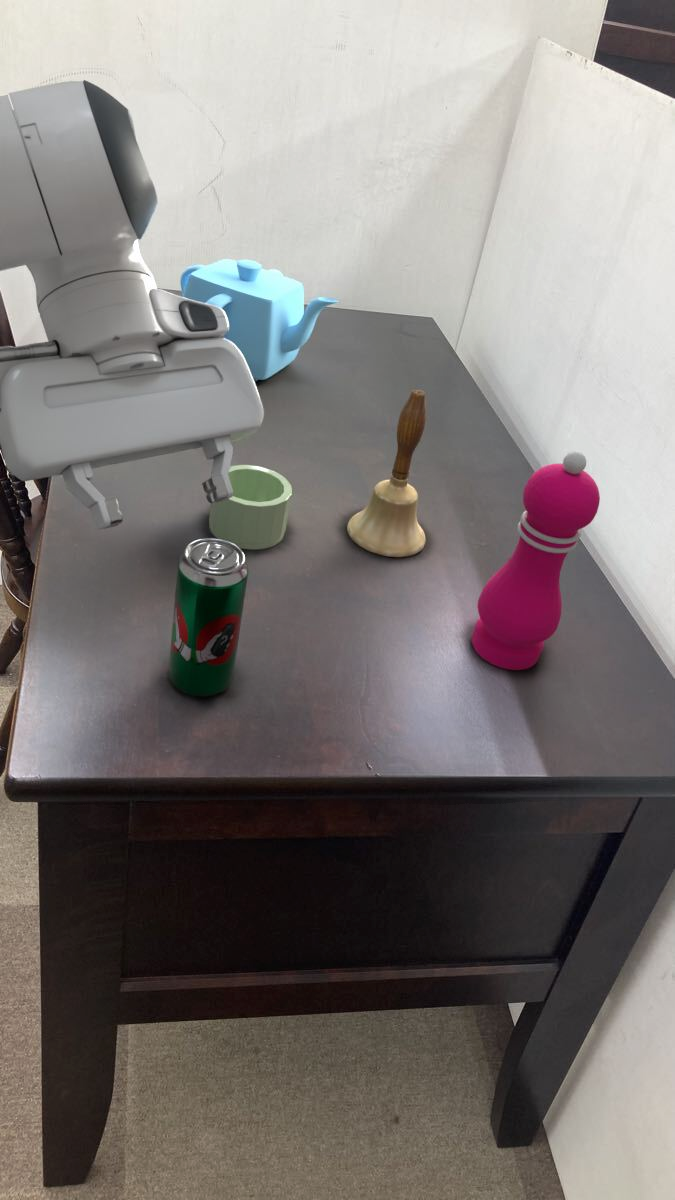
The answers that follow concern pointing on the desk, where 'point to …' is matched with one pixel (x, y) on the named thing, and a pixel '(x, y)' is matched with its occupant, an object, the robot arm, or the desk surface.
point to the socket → (252, 508)
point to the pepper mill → (535, 566)
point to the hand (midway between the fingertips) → (168, 512)
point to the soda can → (207, 616)
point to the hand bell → (395, 495)
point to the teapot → (256, 310)
